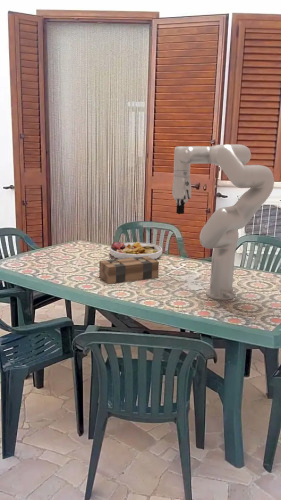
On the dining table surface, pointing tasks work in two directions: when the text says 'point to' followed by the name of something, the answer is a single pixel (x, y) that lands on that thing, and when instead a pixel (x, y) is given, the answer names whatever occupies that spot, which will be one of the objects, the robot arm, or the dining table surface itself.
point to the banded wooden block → (128, 269)
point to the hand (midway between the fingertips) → (180, 213)
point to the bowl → (135, 250)
